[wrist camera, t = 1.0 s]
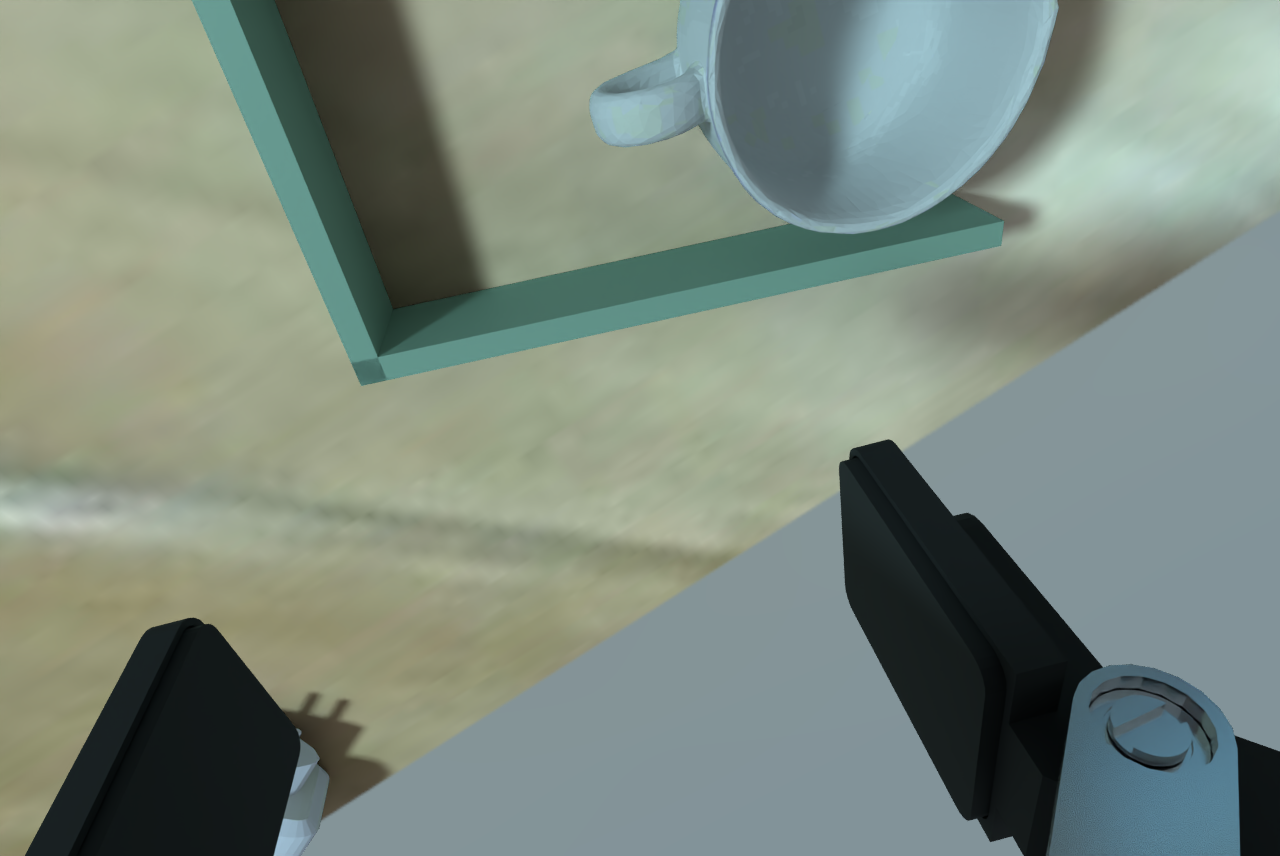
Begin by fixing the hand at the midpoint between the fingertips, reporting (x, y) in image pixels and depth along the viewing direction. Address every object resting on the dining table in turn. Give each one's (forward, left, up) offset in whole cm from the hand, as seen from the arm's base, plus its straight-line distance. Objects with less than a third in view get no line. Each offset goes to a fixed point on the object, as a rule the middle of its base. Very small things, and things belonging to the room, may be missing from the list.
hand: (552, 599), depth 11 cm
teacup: (-4, +10, -22) cm, 25 cm away
